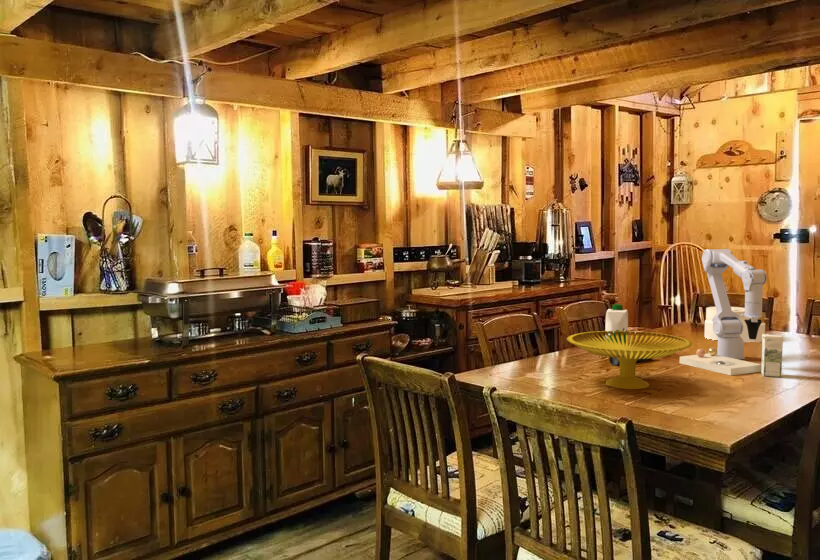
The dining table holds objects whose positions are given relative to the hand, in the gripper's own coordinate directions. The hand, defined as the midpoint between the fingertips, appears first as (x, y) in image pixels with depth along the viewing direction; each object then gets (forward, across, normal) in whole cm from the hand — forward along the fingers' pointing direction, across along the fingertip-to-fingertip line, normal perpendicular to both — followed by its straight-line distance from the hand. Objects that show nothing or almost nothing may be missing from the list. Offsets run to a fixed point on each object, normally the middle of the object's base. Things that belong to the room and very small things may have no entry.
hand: (752, 339), depth 258 cm
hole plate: (+10, +4, -11) cm, 16 cm away
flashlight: (+11, +6, -42) cm, 43 cm away
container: (+11, -64, -3) cm, 65 cm away
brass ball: (+6, -5, -13) cm, 16 cm away
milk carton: (+11, -11, -50) cm, 52 cm away
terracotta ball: (+6, -1, -18) cm, 19 cm away
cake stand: (+11, +43, -40) cm, 60 cm away
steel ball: (+9, +9, -11) cm, 17 cm away
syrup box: (+11, +13, +5) cm, 18 cm away
